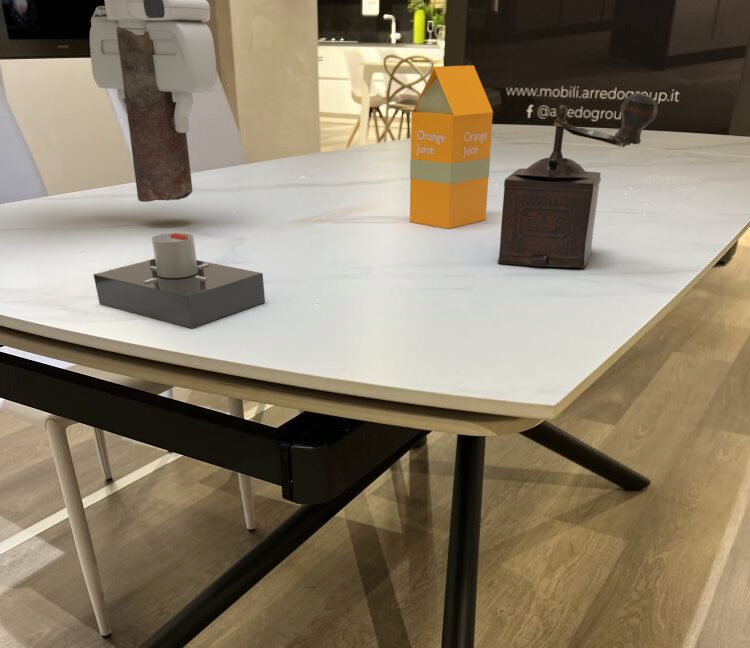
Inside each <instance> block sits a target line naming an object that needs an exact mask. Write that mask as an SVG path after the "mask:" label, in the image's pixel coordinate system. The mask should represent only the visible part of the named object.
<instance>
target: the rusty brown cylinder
mask: <svg viewBox="0 0 750 648" xmlns="http://www.w3.org/2000/svg"><path fill="white" fill-rule="evenodd" d="M117 37H118V47H119V54H120V62H121V69H122V76H123V84H124V92H125V100H126V108H127V114H126V116H127V115H128V117H127V123H128V130H129V138H130V146H131V155H132V156H131V157H132V164H133V172H134V179H135V184H136V185H135V186H136V187H135V188H136V194H137V199H138V201H139V202H142V203H147V202H148V203H149V202H155V201H176V200H177V201H178V200H182V199H186V198H188V197H189V196H190V195H191V194H192V193H193V183H192V181H193V180H192V172H191V164H190V154H189V146H188V145H189V144H188V136H187V132H186V133H177V132H173V131H172V130H171V123H170V117H174V112H175V107H176V102H173V98H172V92H166V91H160V90H159V89H158V87H157V83H156V75H155V67H154V60H153V55H155V51H154V45H153V40H150V37H149V32H147V31H145V33H144V35H135V34H134V33H133V32H131V31H128V30H124V29H123V30H122V29H121V28H119V27H117Z"/></svg>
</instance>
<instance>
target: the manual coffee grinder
mask: <svg viewBox="0 0 750 648" xmlns="http://www.w3.org/2000/svg"><path fill="white" fill-rule="evenodd" d="M619 109H620V111H619V112H620V115H621V126H620V128H619V129H618V131H617V132H615V134H614V135H612V134H609V133H606V132H601V131H597V130H594V129H589V128H584V127H577V126H575V125H572V124H569V123H568V120H567V119H566V117H567V115H568V112H569V110H568V107H567V106H566V105H563V104H561V105H559V106H558V107H557V108H556V109H555V115H556V119H554V121H553V126H554V127H555V131H554V132H555V133H554V141H553V148H552V152H551V154H550V156H549V157H545V158H541V159H539V160H537V161H536V162H533V163H532V164H531V165H529V166H528V167H527V168H518V169H516V170H515V171H514V172H512V173H511V174H510V175H508V176H506V178H505V179H504V182H503V183H504V184H503V200H502V212H501V224H500V239H499V253H498V258H497V263H498V264H499V265H513V266H525V267H526V266H527V267H537V268H539V267H540V268H548V267H550V268H569V269H571V268H573V269H584V268H585V267H586V266H587V265H588V263H589V262H590V259H591V257H592V252H593V251H592V247H593V237H594V229H595V228H594V227H595V220H596V214H597V213H596V212H597V204H598V198H599V189H600V182H601V174H602V172H597V171H586V170H585V169H584V168H583V167H582V166H581V164H579V163H578V162H576V161H574V160H573V159H571V158H567V157H564V156H563V152H562V148H563V140H564V132H565V131H567V132H568V133H570V134H571V135H574V136H578V137H582V138H588V139H592V140H595V141H600V142H604V143H606V144H609V145H612V146H616V147H619V148H621V147H622V148H625V147H626V146H629V145H631V144H632V145H639V144H641V142H642V141H641V134H642V131H643V130H644V129H646V127H647V126H648V125H649V124H650V123H652V122H653V121H654V120H655V119H656V117H657V115H658V112H659V111H658V110H659V109H658V103H657V102H656V100H654V98H653V97H652V96H650V95H647V94H644V93H641V92H633V93H632V94H631V95H629V96H626V97H625V99H623V101H622V103H620V108H619Z"/></svg>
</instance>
